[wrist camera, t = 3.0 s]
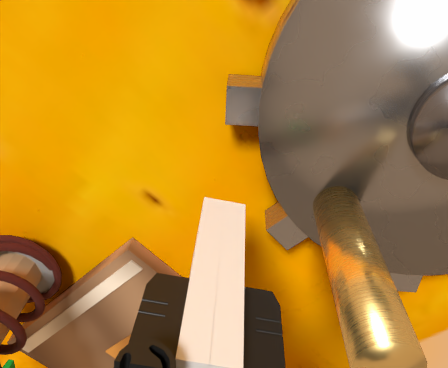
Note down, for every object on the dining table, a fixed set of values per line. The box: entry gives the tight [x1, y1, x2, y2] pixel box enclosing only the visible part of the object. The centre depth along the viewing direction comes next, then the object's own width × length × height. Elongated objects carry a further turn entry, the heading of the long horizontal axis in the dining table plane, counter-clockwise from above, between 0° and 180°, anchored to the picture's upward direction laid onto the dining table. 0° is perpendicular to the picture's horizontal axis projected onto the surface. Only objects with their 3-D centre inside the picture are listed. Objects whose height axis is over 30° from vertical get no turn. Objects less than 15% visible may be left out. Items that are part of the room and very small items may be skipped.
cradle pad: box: [7, 238, 181, 368], centre depth 26 cm, size 12×12×1 cm
